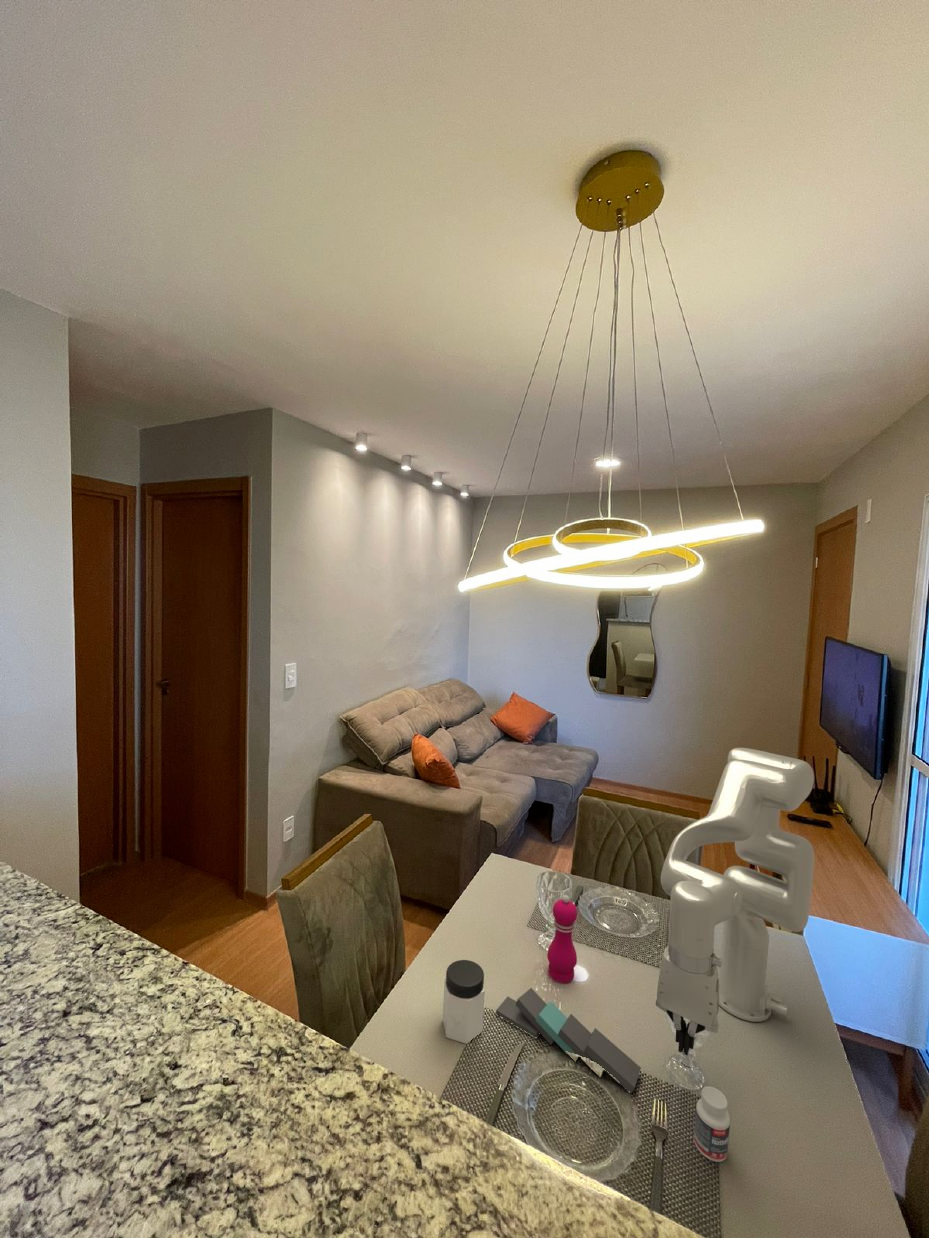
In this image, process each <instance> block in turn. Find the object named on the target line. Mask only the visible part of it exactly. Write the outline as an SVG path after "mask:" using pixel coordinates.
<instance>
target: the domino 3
mask: <svg viewBox="0 0 929 1238" xmlns="http://www.w3.org/2000/svg"><path fill="white" fill-rule="evenodd" d="M546 1004H547V1005H546V1007H545V1008H544V1009H543V1010H542V1011H541V1013H540V1014H539V1015H538V1017H537V1019H536V1021H537V1023H538V1024H539V1025H540V1026H541V1027H542V1028H543V1029H544V1030H545V1031H546V1032H547V1033H548V1034H549V1035H550V1036H551V1037H552V1038H553V1040H554V1041H555V1042H554V1043H556V1044H557V1045H558V1046H559V1047H560V1048H561V1049H562V1050H563V1051H564V1052H565V1051H568V1052H571V1053H574V1052H573V1051H572V1050H571V1049H570V1048H569V1047H568V1045H567V1044H566V1043H565V1042H564V1041H563V1040H562V1039H561V1038H560V1037H559V1036H558V1033H559V1031H560V1029H561V1028H562V1026H563V1025H564V1023H565V1022H566V1020H567V1019H568V1017H567V1016H566V1015H565V1014H564V1013H563V1012H562V1011H561V1010H560V1008H559V1007H557V1006H556V1005H555V1004H554V1002H552V1001H551V1000H550V1001H549V1002H548V1003H546ZM574 1054H575V1053H574Z"/></svg>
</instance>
